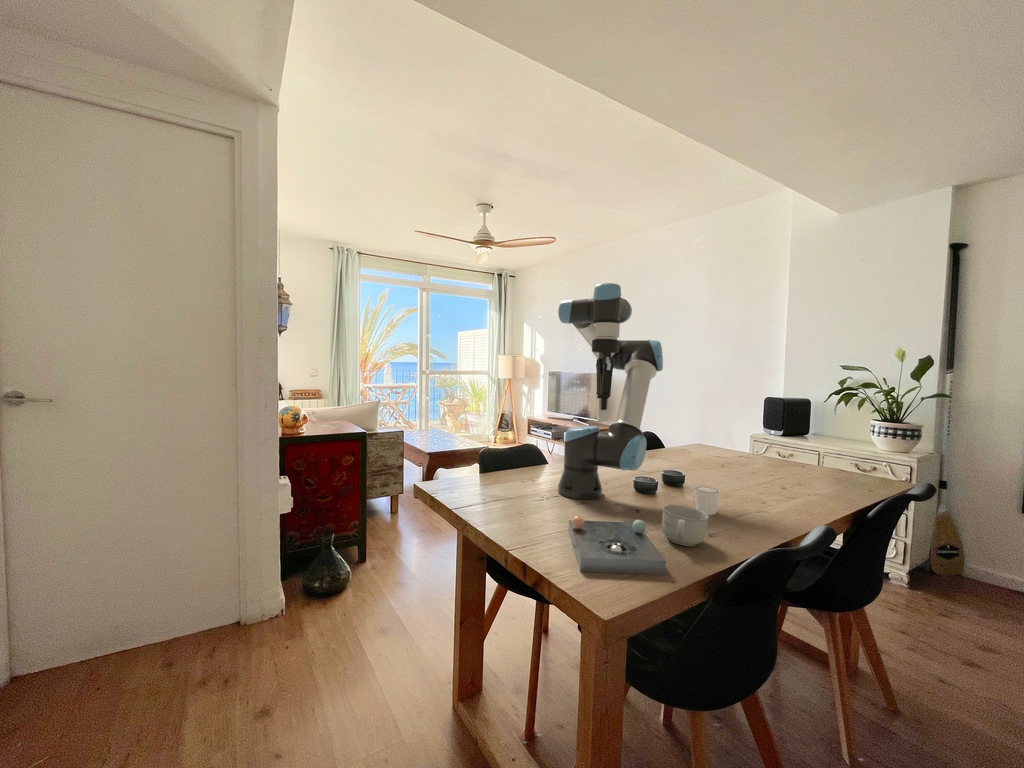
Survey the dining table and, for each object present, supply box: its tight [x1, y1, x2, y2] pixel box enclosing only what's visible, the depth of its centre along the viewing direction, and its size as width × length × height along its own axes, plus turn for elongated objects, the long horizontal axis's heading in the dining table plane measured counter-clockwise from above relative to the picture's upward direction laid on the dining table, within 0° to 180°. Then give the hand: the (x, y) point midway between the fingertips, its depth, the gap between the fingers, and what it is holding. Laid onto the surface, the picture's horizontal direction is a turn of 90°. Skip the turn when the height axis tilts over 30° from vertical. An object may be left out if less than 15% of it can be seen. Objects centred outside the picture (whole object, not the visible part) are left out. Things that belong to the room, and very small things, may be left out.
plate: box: [568, 519, 667, 576], centre depth 100 cm, size 22×18×3 cm
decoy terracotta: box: [571, 515, 585, 529], centre depth 105 cm, size 3×3×3 cm
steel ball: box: [610, 545, 623, 552], centre depth 95 cm, size 3×3×3 cm
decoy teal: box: [632, 519, 647, 533], centre depth 104 cm, size 3×3×3 cm
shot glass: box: [694, 486, 720, 516], centre depth 130 cm, size 7×7×7 cm
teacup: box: [661, 504, 710, 547], centre depth 105 cm, size 14×11×8 cm
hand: (602, 420), depth 121 cm, fingers closed
